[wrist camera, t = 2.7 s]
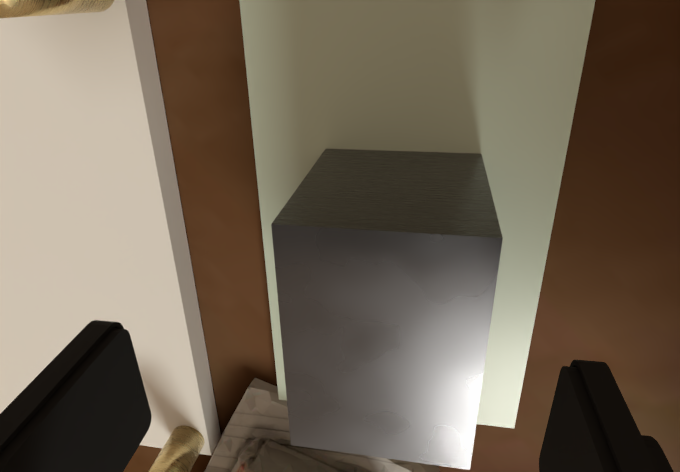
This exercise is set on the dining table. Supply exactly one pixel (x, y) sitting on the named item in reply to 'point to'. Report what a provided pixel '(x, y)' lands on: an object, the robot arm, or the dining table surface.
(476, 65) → the board
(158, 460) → the chassis
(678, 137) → the dining table surface
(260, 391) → the packaged product
